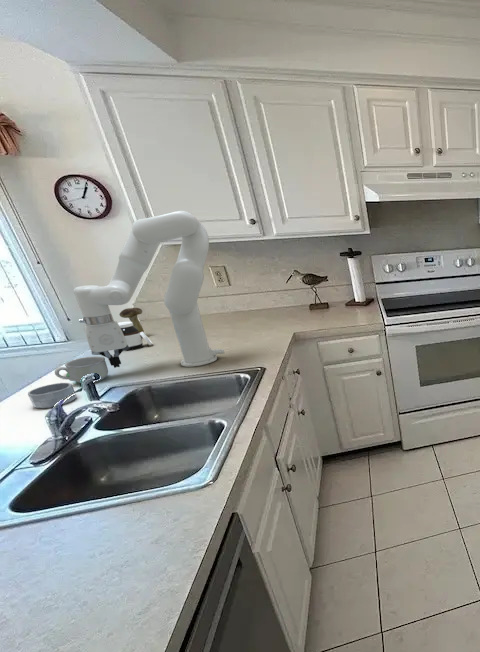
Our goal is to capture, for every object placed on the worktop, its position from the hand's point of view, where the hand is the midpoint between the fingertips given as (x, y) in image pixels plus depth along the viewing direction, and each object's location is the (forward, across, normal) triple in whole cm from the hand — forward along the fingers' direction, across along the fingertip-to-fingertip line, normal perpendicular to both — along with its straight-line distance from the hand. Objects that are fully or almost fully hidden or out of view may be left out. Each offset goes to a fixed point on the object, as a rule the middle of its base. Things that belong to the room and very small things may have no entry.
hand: (116, 366), depth 157 cm
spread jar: (+4, +7, +41) cm, 42 cm away
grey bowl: (+4, -17, -17) cm, 24 cm away
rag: (+4, -12, +13) cm, 18 cm away
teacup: (+4, -9, 0) cm, 10 cm away
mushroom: (+4, +9, +60) cm, 61 cm away
